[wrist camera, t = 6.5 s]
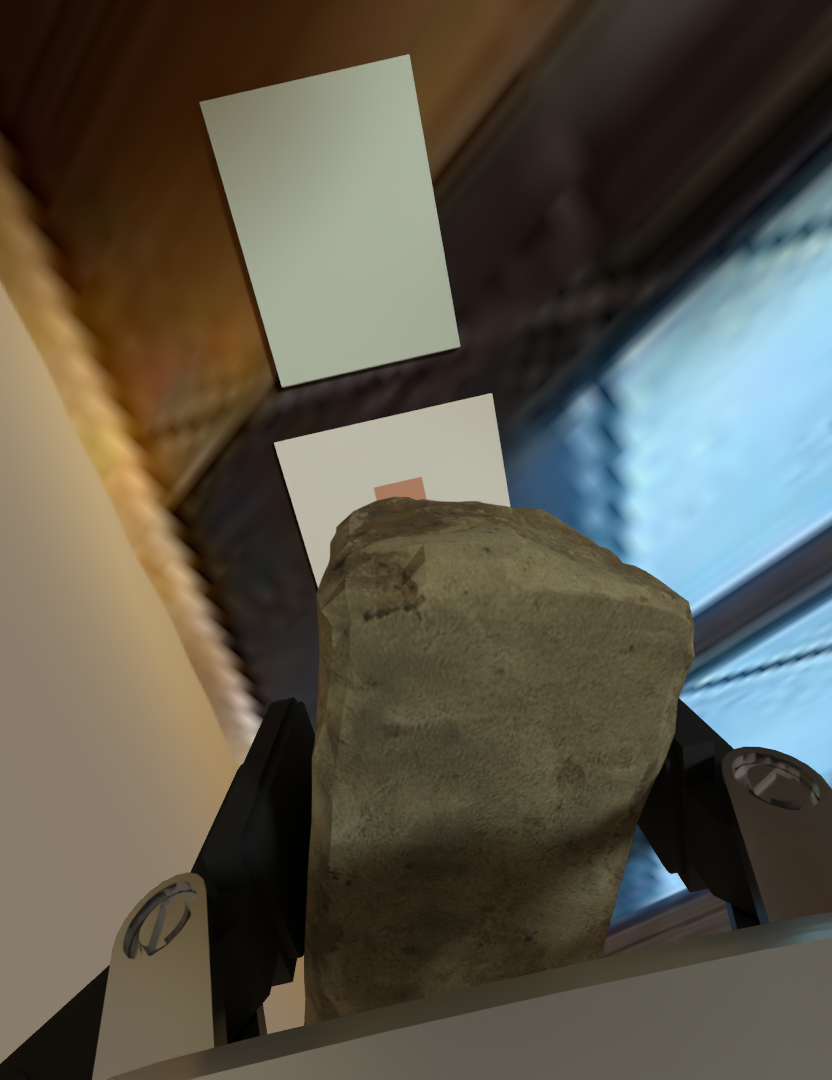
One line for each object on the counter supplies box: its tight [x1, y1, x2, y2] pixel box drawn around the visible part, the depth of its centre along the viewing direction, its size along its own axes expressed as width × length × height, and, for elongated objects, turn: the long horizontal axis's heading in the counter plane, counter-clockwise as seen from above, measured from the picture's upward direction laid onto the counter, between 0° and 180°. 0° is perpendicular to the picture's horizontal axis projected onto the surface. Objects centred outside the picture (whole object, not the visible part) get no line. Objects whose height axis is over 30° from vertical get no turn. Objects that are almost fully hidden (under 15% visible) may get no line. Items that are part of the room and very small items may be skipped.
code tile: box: [274, 393, 510, 588], centre depth 27 cm, size 17×14×1 cm
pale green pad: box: [200, 54, 460, 388], centre depth 22 cm, size 14×11×1 cm
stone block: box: [304, 497, 695, 1026], centre depth 9 cm, size 6×12×5 cm, turn 176°
